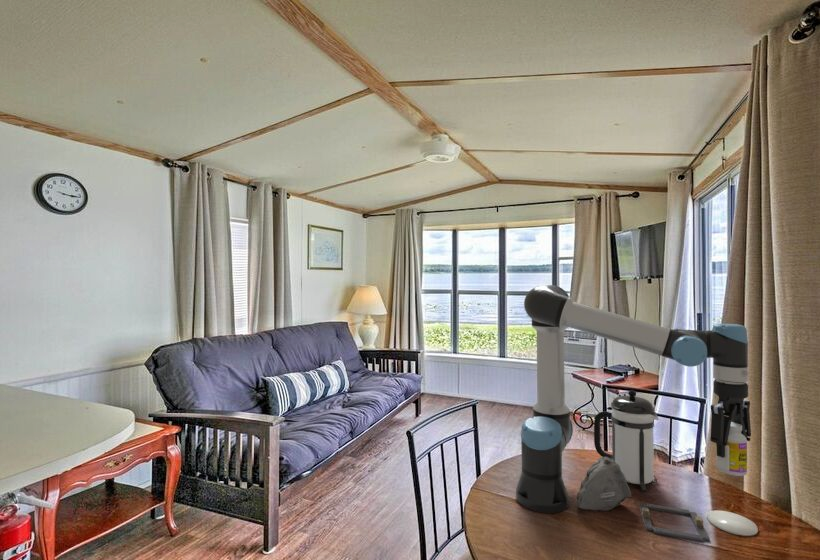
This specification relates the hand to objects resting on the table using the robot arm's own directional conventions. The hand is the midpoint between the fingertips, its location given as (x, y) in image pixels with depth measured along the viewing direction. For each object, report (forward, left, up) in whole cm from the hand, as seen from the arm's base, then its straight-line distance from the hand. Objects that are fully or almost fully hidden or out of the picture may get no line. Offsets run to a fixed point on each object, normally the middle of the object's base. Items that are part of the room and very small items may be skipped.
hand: (731, 465), depth 114 cm
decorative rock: (-32, -4, -16) cm, 36 cm away
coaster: (0, 0, -16) cm, 16 cm away
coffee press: (-23, +18, -16) cm, 33 cm away
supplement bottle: (0, 0, -2) cm, 2 cm away
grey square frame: (-15, -5, -16) cm, 22 cm away
